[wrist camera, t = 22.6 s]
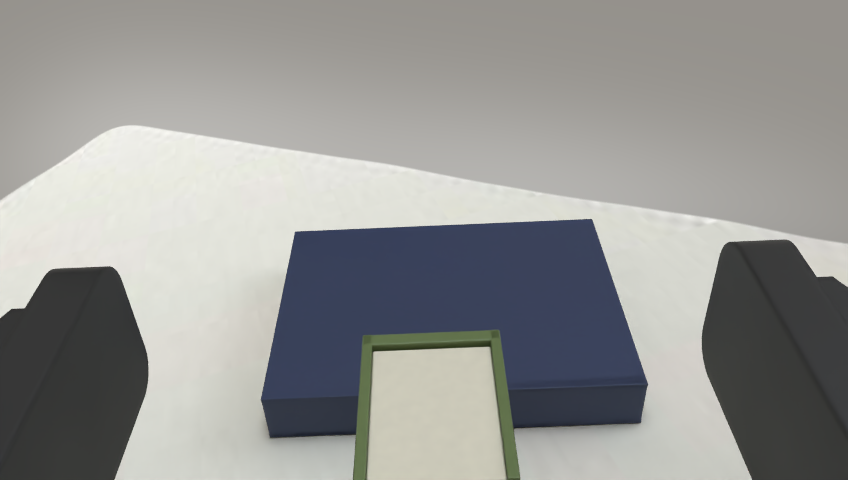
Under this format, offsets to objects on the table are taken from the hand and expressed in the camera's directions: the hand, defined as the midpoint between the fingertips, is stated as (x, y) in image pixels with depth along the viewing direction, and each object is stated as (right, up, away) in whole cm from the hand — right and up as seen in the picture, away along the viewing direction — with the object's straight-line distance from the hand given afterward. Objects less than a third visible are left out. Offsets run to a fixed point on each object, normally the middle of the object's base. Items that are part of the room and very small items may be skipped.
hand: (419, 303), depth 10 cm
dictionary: (+1, -15, +24) cm, 28 cm away
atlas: (+2, -5, +37) cm, 38 cm away
